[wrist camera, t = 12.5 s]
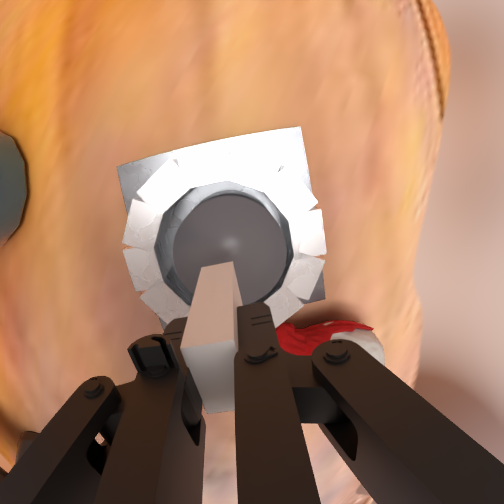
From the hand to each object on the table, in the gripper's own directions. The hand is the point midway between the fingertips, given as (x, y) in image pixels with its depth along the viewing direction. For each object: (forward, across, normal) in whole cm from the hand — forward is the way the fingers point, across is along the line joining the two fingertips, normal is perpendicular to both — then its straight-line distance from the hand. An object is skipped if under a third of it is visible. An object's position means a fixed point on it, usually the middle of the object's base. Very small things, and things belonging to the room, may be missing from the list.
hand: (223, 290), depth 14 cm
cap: (+12, 0, 0) cm, 12 cm away
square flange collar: (+13, 0, 0) cm, 13 cm away
